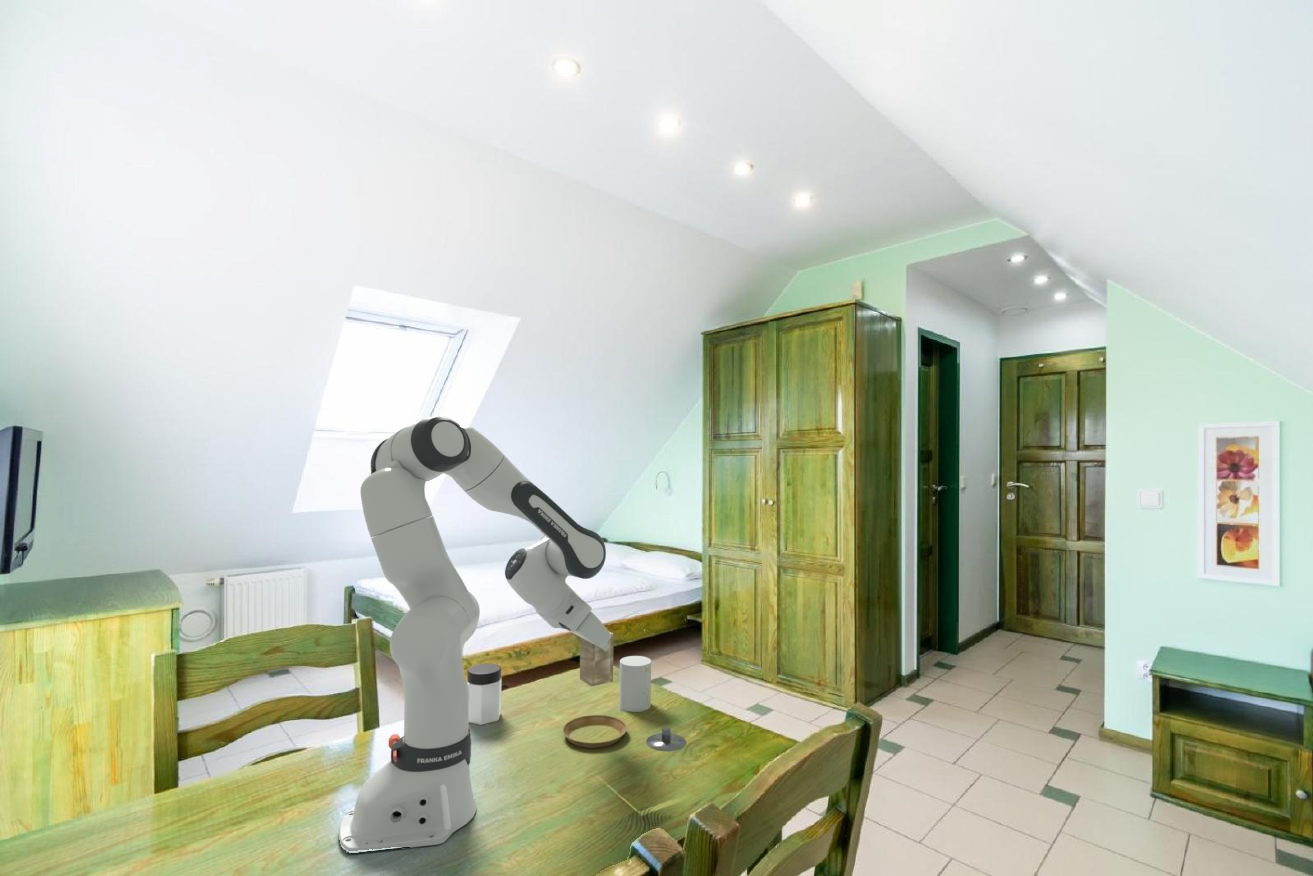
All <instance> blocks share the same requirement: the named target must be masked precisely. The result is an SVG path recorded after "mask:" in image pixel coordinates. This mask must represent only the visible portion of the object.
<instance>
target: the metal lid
mask: <svg viewBox="0 0 1313 876" xmlns="http://www.w3.org/2000/svg"><path fill="white" fill-rule="evenodd" d="M671 730H672V729H671V728H670V727H668V726H665V727H662V728H661V733H660V732H659V733H655V734H652V735H650V736H649V737H648V738H646V741H645V742H646V745H647V746H648V747H649V748H650V749H653V750H654V751H660V752H675V751H678V750H681V749H683V748H685V746H686V744H687V740H686V738H684V737H683V736H682V735H679V734H676V733H673V732H672V731H671ZM671 732H672V733H671Z"/></svg>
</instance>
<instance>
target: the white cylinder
mask: <svg viewBox="0 0 1313 876" xmlns="http://www.w3.org/2000/svg"><path fill="white" fill-rule="evenodd" d="M618 689H619V691H618V692H619V693H618V695H619V699H618V700H619V702H618V703H619V706H618V709H619V711H621V710H622V711H621V712H625V711H626V712H631V713H637V712H639V713H640V712H645V711H646V710H649V709H650V708H651V705H652V703H651V702H652V659H651V658H649V657H647V656H643V655H631V656H630V655H629V656H625V657H622V658H621V659H620V660H619V687H618Z"/></svg>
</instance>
